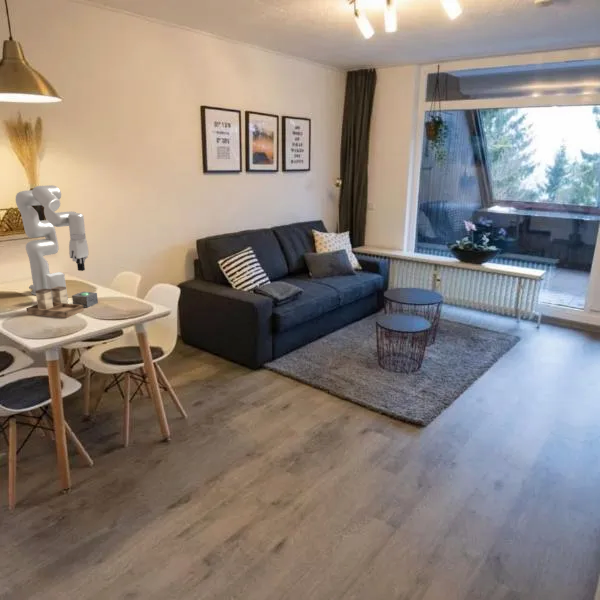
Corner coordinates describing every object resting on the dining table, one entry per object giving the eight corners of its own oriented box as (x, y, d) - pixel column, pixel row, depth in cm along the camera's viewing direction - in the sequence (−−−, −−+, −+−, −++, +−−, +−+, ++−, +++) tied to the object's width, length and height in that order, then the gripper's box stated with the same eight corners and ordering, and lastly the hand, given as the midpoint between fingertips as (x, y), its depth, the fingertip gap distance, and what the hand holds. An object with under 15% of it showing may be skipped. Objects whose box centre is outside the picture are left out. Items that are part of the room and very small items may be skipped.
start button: (79, 302, 265) (78, 294, 264) (84, 300, 269) (83, 292, 268) (86, 303, 264) (85, 294, 263) (90, 301, 268) (89, 292, 267)
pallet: (27, 313, 250) (26, 308, 249) (45, 306, 262) (44, 301, 262) (66, 317, 245) (66, 312, 244) (83, 310, 257) (83, 305, 256)
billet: (53, 306, 263) (51, 288, 261) (60, 303, 268) (57, 286, 265) (61, 307, 262) (59, 289, 259) (68, 304, 267) (65, 286, 264)
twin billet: (38, 309, 253) (35, 290, 250) (45, 306, 258) (42, 288, 255) (46, 310, 252) (43, 291, 249) (53, 307, 256) (50, 289, 254)
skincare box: (64, 297, 280) (61, 271, 275) (68, 300, 275) (65, 273, 271) (48, 300, 274) (45, 273, 270) (52, 302, 269) (49, 275, 265)
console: (73, 306, 264) (71, 295, 262) (84, 301, 272) (82, 291, 271) (87, 307, 262) (86, 297, 260) (97, 303, 270) (96, 292, 269)
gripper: (81, 234, 264) (84, 266, 270) (62, 238, 251) (65, 272, 256) (93, 235, 263) (96, 268, 268) (74, 239, 249) (78, 274, 254)
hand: (81, 270), depth 262 cm, fingers closed
